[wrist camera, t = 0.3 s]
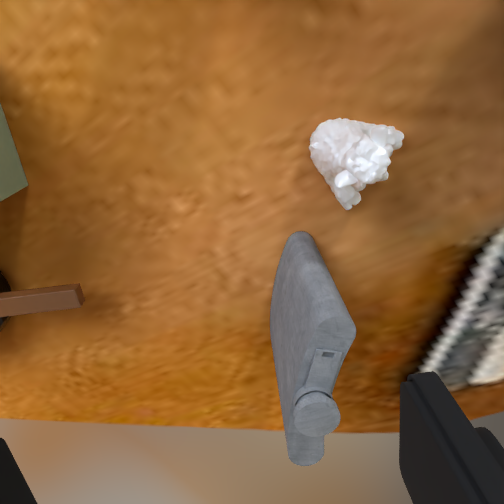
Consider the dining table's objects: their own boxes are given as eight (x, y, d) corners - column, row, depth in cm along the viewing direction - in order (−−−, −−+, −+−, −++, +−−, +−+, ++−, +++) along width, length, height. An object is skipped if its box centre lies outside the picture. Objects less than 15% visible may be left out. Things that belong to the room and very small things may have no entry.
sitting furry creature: (347, 209, 46) (384, 253, 35) (283, 169, 44) (301, 203, 33) (402, 134, 43) (461, 157, 32) (336, 87, 41) (375, 94, 30)
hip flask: (293, 347, 53) (326, 492, 35) (262, 344, 53) (279, 491, 35) (316, 232, 47) (370, 338, 29) (280, 229, 46) (313, 333, 28)
